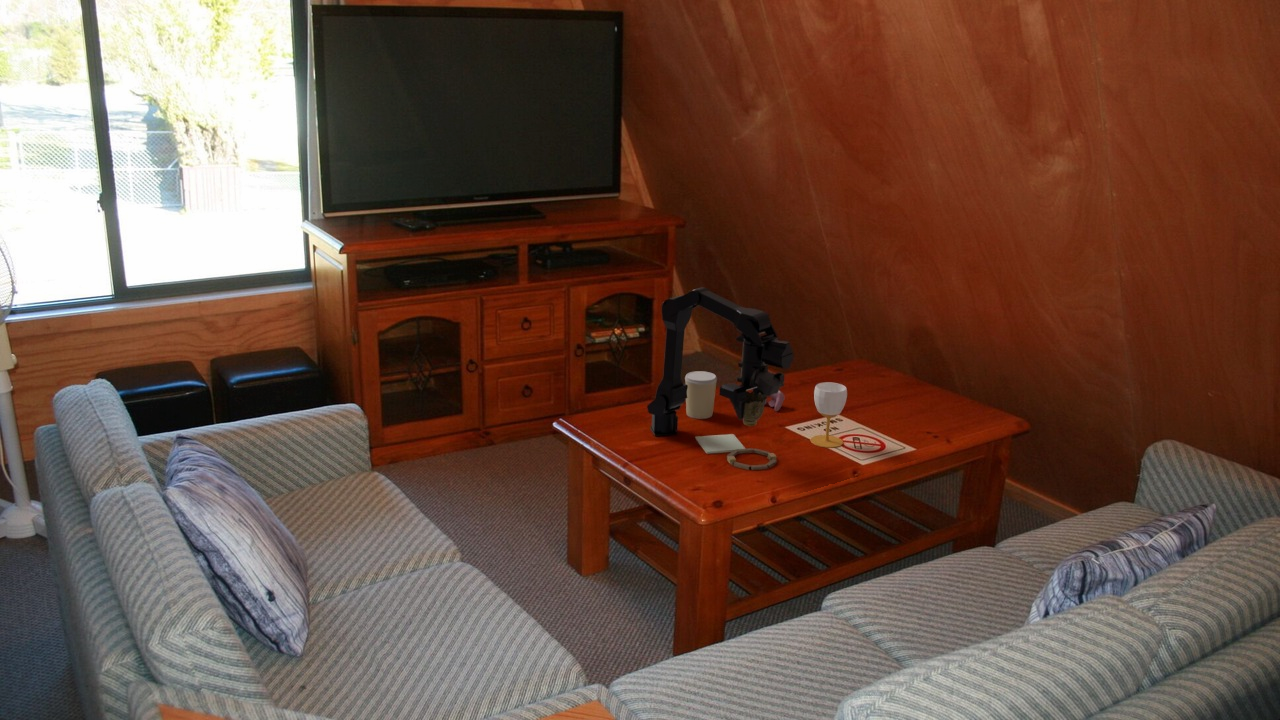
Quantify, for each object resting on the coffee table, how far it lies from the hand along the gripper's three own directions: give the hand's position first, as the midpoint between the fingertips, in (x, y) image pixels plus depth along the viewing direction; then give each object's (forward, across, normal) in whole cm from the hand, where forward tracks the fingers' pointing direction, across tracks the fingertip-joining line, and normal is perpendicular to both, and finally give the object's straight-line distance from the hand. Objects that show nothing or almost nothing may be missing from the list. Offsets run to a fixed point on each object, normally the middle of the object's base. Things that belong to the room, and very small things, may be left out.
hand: (749, 416), depth 274 cm
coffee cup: (+13, +14, +31) cm, 36 cm away
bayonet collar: (+12, 0, -2) cm, 12 cm away
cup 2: (+12, +26, -7) cm, 29 cm away
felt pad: (+12, +2, +11) cm, 16 cm away
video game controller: (+12, +35, +23) cm, 44 cm away
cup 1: (+2, 0, 0) cm, 2 cm away
